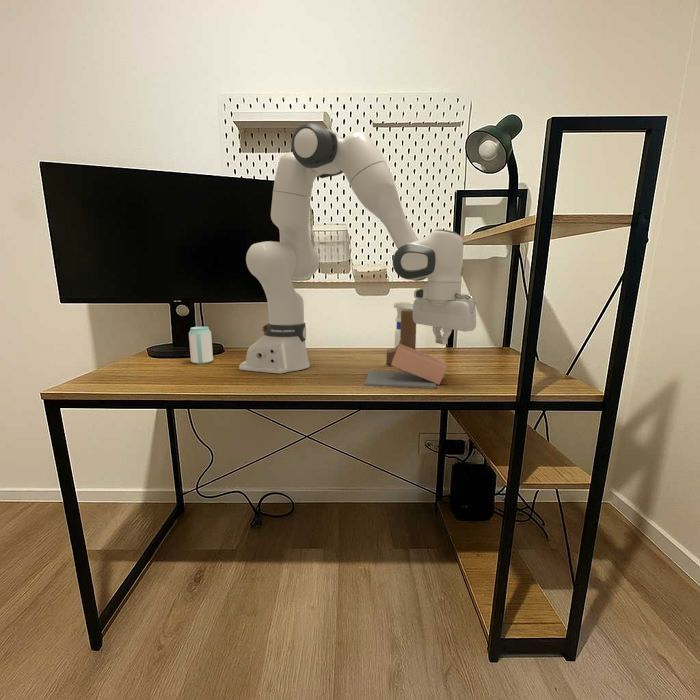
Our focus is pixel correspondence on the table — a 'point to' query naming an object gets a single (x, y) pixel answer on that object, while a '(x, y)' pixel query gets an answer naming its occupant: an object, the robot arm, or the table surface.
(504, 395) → the table surface
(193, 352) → the can
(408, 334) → the wooden block
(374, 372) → the mat
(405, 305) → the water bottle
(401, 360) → the terracotta block
